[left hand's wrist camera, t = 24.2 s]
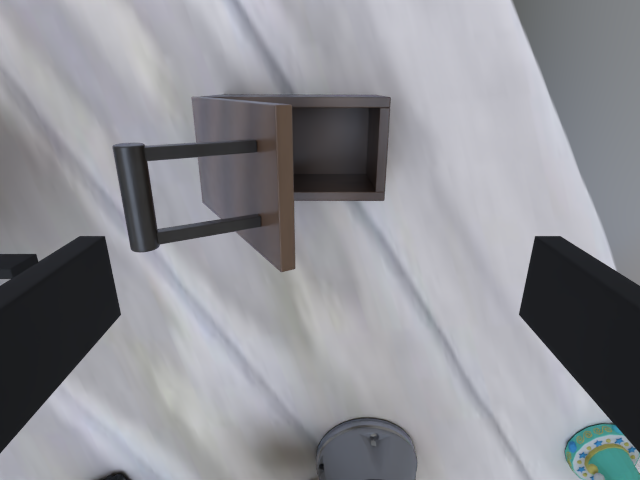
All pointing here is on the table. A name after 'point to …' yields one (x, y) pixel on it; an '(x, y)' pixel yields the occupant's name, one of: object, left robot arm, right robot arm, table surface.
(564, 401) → the table surface
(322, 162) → the chest
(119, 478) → the power drill
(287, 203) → the lid
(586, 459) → the decorative hourglass
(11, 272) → the right robot arm
